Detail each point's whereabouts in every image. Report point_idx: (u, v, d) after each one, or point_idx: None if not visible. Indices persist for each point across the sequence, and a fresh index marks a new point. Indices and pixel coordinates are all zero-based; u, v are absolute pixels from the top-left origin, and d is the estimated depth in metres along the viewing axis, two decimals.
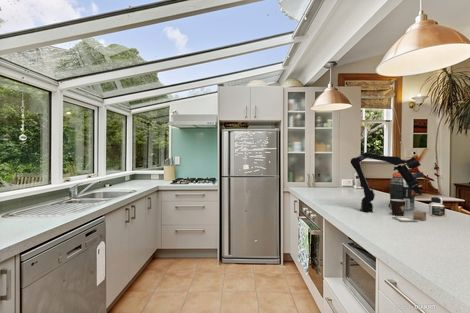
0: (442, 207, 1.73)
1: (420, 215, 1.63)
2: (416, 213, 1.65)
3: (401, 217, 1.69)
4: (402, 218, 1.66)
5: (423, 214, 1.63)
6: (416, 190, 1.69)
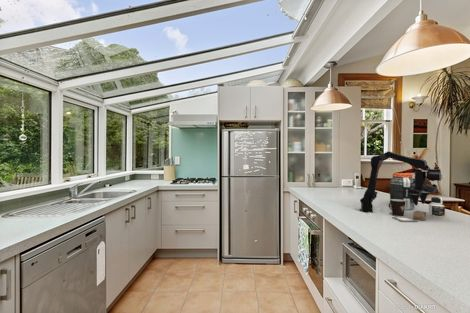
0: (442, 207, 1.73)
1: (420, 215, 1.63)
2: (416, 213, 1.65)
3: (401, 217, 1.69)
4: (402, 218, 1.66)
5: (423, 214, 1.63)
6: (414, 199, 1.63)
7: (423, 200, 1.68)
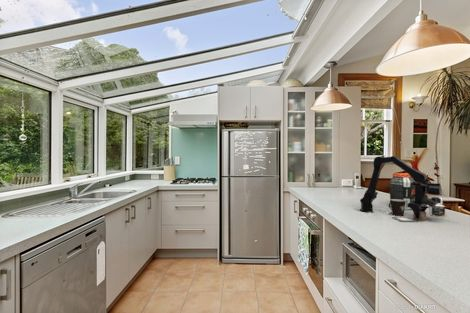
0: (442, 207, 1.73)
1: (420, 215, 1.63)
2: None
3: (401, 217, 1.69)
4: (402, 218, 1.66)
5: (423, 214, 1.63)
6: (415, 212, 1.64)
7: None
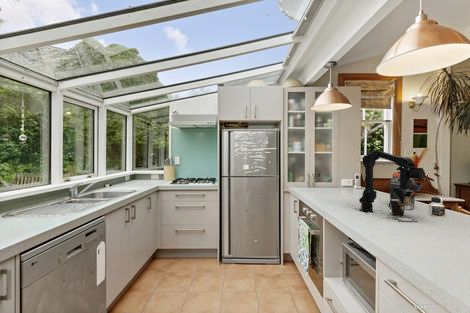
0: (442, 207, 1.73)
1: (405, 200, 1.62)
2: None
3: (401, 217, 1.69)
4: (402, 218, 1.66)
5: (408, 199, 1.62)
6: (400, 197, 1.63)
7: None
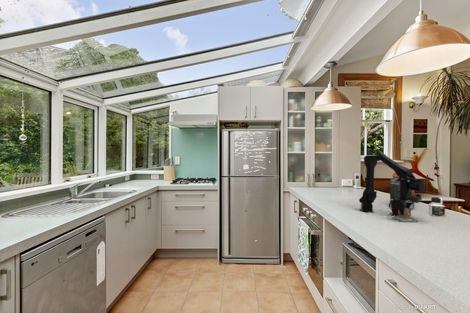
0: (442, 207, 1.73)
1: (405, 211, 1.62)
2: None
3: (401, 217, 1.69)
4: (402, 218, 1.66)
5: (408, 210, 1.62)
6: (400, 208, 1.63)
7: None
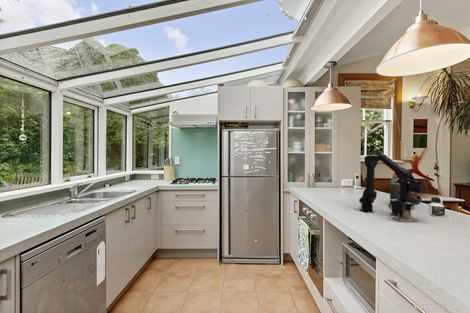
0: (442, 207, 1.73)
1: (404, 214, 1.62)
2: None
3: None
4: None
5: (407, 213, 1.62)
6: (399, 210, 1.62)
7: None
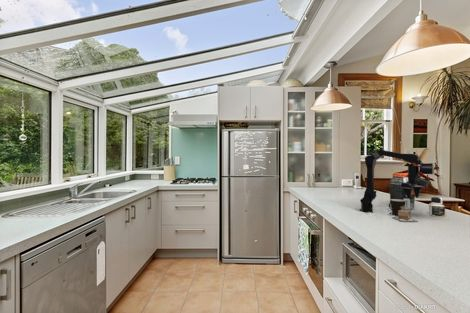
0: (442, 207, 1.73)
1: (404, 214, 1.62)
2: (401, 212, 1.64)
3: None
4: None
5: (407, 213, 1.62)
6: (407, 193, 1.67)
7: (417, 194, 1.71)
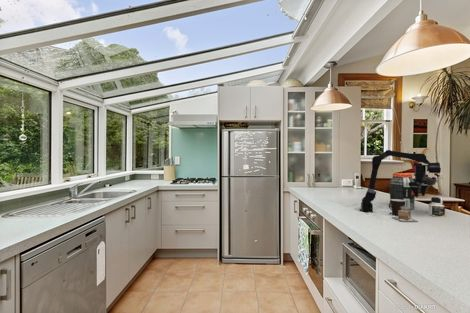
0: (442, 207, 1.73)
1: (404, 214, 1.62)
2: (401, 212, 1.64)
3: None
4: None
5: (407, 213, 1.62)
6: (414, 191, 1.71)
7: (423, 192, 1.76)
